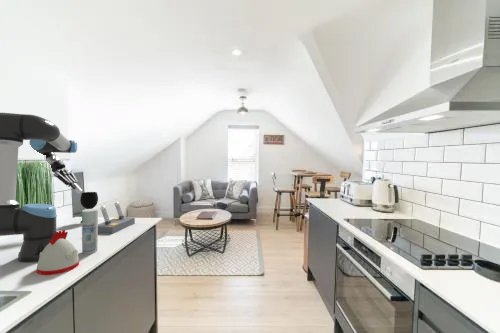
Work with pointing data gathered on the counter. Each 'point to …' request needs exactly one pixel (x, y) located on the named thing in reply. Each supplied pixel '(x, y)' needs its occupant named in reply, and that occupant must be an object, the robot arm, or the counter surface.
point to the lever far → (119, 210)
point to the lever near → (105, 215)
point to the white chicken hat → (58, 256)
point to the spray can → (89, 231)
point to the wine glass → (89, 200)
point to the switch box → (115, 225)
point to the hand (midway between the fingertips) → (80, 192)
